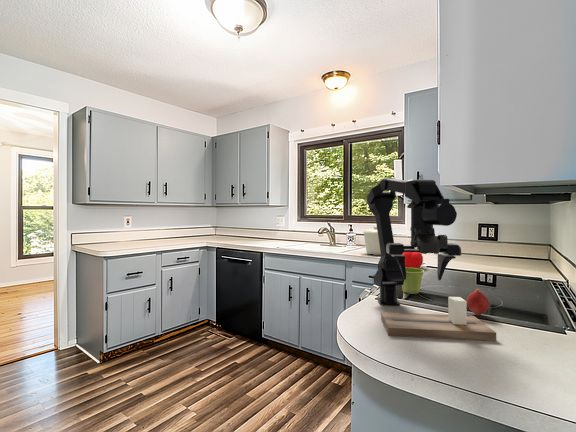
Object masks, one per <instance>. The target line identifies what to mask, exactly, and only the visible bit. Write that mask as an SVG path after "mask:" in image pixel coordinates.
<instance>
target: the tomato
mask: <svg viewBox="0 0 576 432" xmlns="http://www.w3.org/2000/svg"><path fill="white" fill-rule="evenodd" d="M403 255H404V256H405V267H406V268H418V269H421V267H422V265H423V262H424V256H423V254H422V253H420V252H404V253H403Z"/></svg>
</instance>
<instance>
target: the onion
mask: <svg viewBox="0 0 576 432" xmlns="http://www.w3.org/2000/svg"><path fill="white" fill-rule="evenodd" d="M465 301H467V308H468V309H469V310H470V311H471V312H472V313H473V314H474V315H475V316H481V315H482V314H484V313H485V312H486V311H488V310H489V308H490V302H489V299H488V297H487V296H486V295H485V294H484V293H482V292H481V290H480V288H476V289H475V290H474V291H473V292H470V294H469V295H468V296H467V298H466V300H465Z"/></svg>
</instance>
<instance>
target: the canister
mask: <svg viewBox="0 0 576 432" xmlns="http://www.w3.org/2000/svg"><path fill="white" fill-rule="evenodd" d="M362 233H363V235H364V245H365V251H366V254H368V255H370V254H374V255H373V256H381V251H380V244H379V238H378V231H377V224H376V225H375V224H374V225H373V227H372V228H370V229H369V228H368V229H365V230H364V231H362Z"/></svg>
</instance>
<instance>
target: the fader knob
mask: <svg viewBox="0 0 576 432" xmlns="http://www.w3.org/2000/svg"><path fill="white" fill-rule="evenodd" d="M447 300H448V303H447V306H448V307H447V310H448V312H447V313H448V314H447V315H448V319H449V320H450V321H451V322H452V323H453V324H460V325H467V316H468V315H467V312H468V311H467V308H468V306H467V301H466V300H465V299H463V298H462V297H461V296H448V299H447Z"/></svg>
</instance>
